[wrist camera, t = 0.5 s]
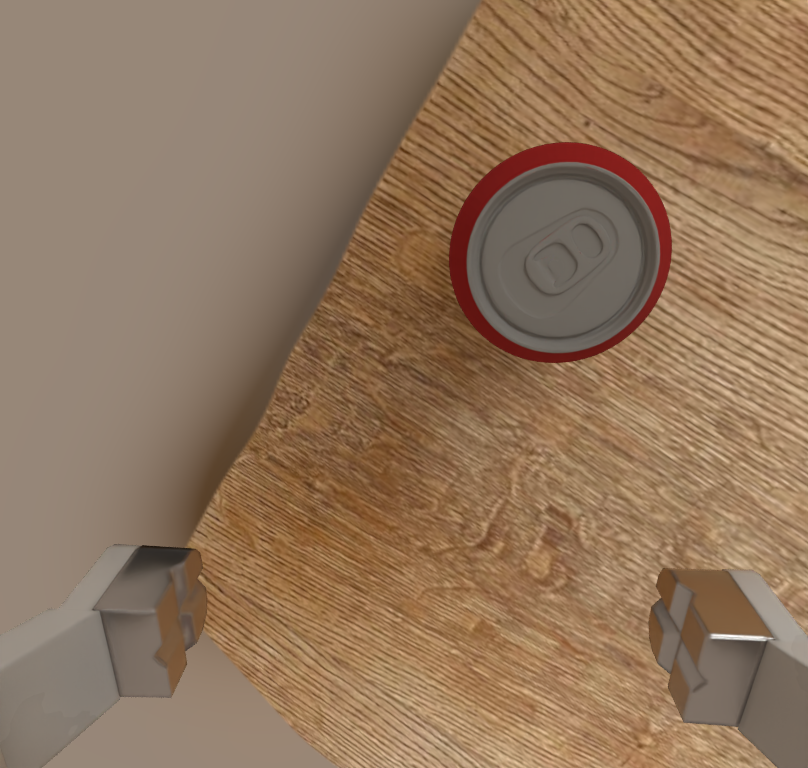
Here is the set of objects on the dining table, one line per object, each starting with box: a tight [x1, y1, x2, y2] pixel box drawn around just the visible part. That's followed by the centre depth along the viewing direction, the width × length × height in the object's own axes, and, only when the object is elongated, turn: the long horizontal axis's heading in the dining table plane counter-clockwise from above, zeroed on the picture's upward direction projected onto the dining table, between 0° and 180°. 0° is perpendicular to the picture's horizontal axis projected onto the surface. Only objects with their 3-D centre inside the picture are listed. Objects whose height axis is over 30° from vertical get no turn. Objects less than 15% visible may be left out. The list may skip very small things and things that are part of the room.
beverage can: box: [449, 142, 672, 363], centre depth 22 cm, size 7×7×12 cm
